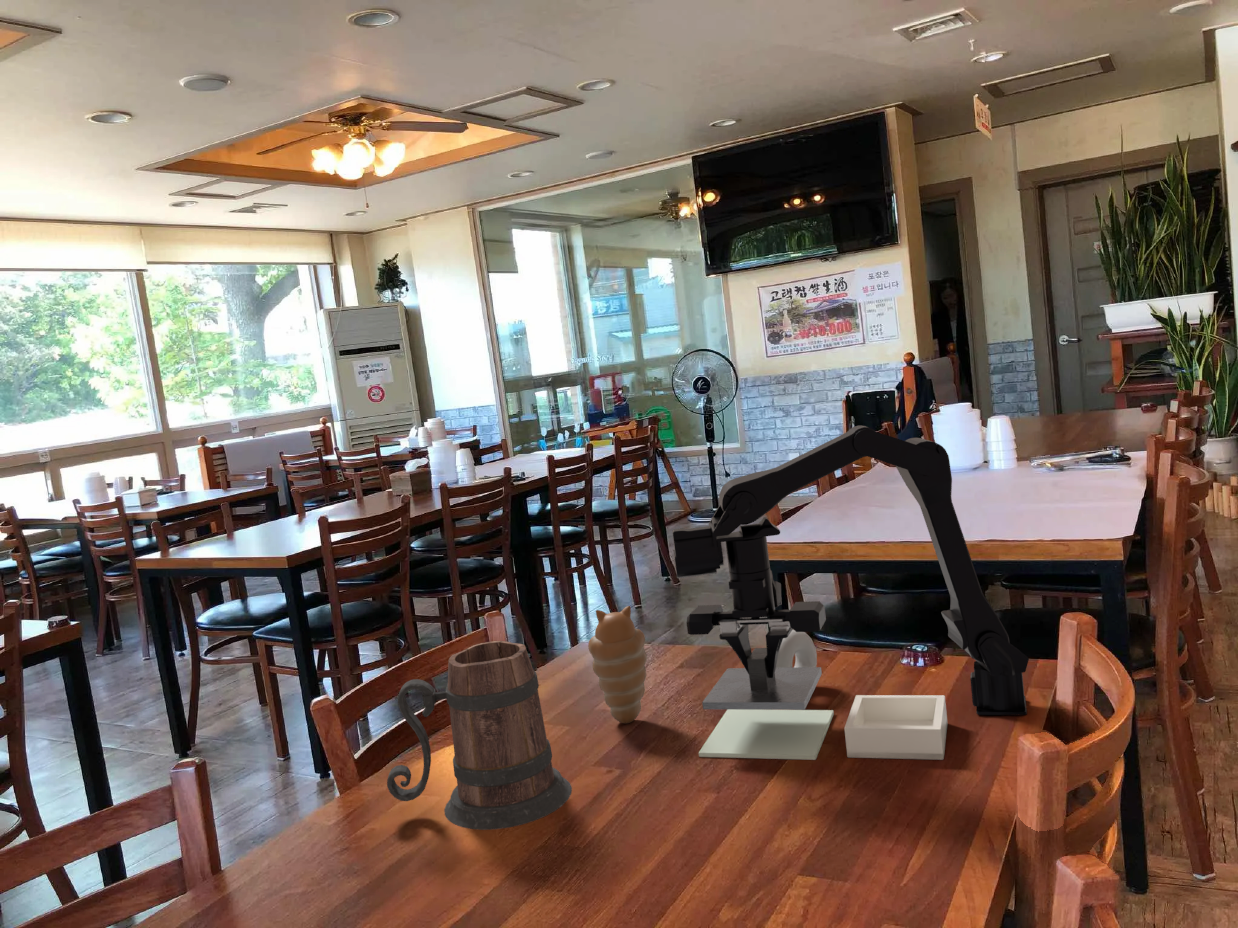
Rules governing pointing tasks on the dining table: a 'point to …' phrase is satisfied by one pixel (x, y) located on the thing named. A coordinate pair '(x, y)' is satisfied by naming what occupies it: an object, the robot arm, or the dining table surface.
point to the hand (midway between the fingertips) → (762, 677)
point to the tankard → (489, 740)
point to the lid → (763, 686)
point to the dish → (897, 727)
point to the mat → (768, 734)
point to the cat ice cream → (619, 663)
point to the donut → (797, 651)
